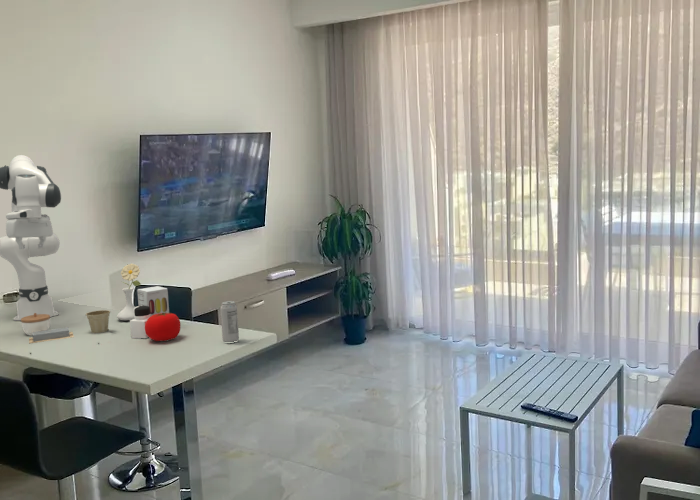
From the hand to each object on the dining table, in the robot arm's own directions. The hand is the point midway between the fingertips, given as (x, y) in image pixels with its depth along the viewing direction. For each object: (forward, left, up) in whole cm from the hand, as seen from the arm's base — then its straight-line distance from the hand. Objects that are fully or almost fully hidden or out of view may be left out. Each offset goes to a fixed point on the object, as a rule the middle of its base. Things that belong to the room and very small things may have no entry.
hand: (31, 248), depth 268 cm
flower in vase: (-5, +37, -36) cm, 52 cm away
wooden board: (+12, +4, -36) cm, 38 cm away
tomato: (+39, +43, -36) cm, 68 cm away
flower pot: (+13, +22, -36) cm, 44 cm away
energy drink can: (+58, +64, -36) cm, 93 cm away
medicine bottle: (+29, +37, -36) cm, 59 cm away
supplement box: (+19, +43, -36) cm, 59 cm away
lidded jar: (+1, -1, -36) cm, 36 cm away
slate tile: (+12, +4, -35) cm, 37 cm away
